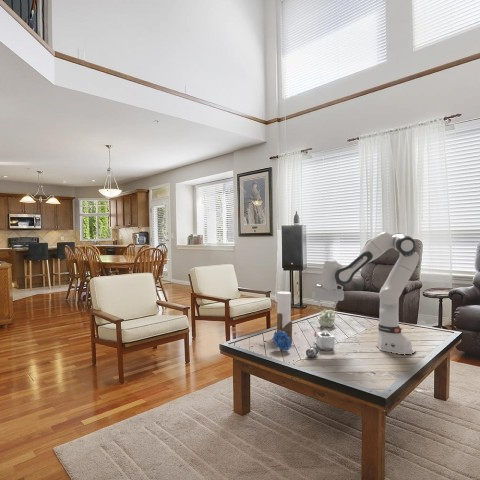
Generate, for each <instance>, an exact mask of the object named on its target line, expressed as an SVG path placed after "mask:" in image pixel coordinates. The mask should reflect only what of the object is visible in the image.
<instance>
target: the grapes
mask: <svg viewBox="0 0 480 480" xmlns="http://www.w3.org/2000/svg"><path fill="white" fill-rule="evenodd" d="M272 340H273V342H274V346H275V347H277V348H279V350H280V351H288V350H289V348H291V347H292V343H290V341H291V339H290V337H287V333H285V332H284V333H283V332H282V331H280V330H279V331H278V333H277V331H276V332H274V333H273V337H272Z"/></svg>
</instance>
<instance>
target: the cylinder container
mask: <svg viewBox="0 0 480 480" xmlns="http://www.w3.org/2000/svg"><path fill="white" fill-rule="evenodd" d="M276 293H277V298H276V299H277V300H276V304H277V305H276V309H277V311H276V314H277V313H282V328H283V327H285V326H286V325H287V324H288V323H289V322H291V321H292V320H291V315H292V312H291V311H292V310H291V309H292V307H291V306H292V301H291V299H292V298H291V295H292V292H291V291H277V292H276ZM282 332H283V331H282ZM283 333H284V332H283Z"/></svg>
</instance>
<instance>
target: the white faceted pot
mask: <svg viewBox="0 0 480 480" xmlns="http://www.w3.org/2000/svg"><path fill="white" fill-rule="evenodd" d="M321 333H322V336H323V337H324V336H329V334H328V333H329V332H321ZM316 348H317V349H318V351H325V352H331V351H334V349H335V347H334V348H328V349H321V348H320V347H319V346H317V345H316Z"/></svg>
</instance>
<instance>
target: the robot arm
mask: <svg viewBox="0 0 480 480" xmlns="http://www.w3.org/2000/svg"><path fill="white" fill-rule="evenodd" d="M390 249H394V250H395V251H396V252H398V253H399V257H398V259H397V261H396V262H395V263H394V265H393V267H392V269H391V270H390V272H389V274H388V277H387V279H386V280H385V281H384V284H383V285H382V286H381V288H380V290H379V293H378V296H379V317H378V318H379V319H378V321H379V323H378V329H377V330H378V337H377V341H376V347H377V348H378V350H379V351H383V352H387V353H391V352H392V353H393V354H396V353H398V354H397V355H400V354H404V355H403V356H406V355H405V354H411V353H414V352H415V351H416V350H417V349H415V348H413V347H412V342H411V340H410V339H409V338H408V337H407V336H406V335H405V334H403V332H402V331H403V327H400V325H399V316H400V315H399V314H400V313H399V309H400V303H399V302H400V301H399V299H400V297H401V295H402V293H403V292H404V289H405V288H406V285H407V283H408V281H409V280H410V279H411V277H412V275H413V273H414V272H415V270H416V268H417V266H418V263H419V260H420V255H419V253H418V252H416V242H415V240H414V239H413V237H411V236H410V235H407V234H405V233H399V232H398V233H395V234H391V233H389V232H387V231H383V232H381V233H378V234H376V235H375V236H373V238H371V239H370V240H369V241H368V242H367V243H365V245H364V246H362V248H361V251H360V253H359V255H358V256H357V258H355V259H354V260H352V262H350V263H349V264H348V265H347V266H344V265H342V264H341V263H339V262H338V261H336V260H327V261H325V262H324V263H323V266H322V279H321V284H315V285H313V286H312V294H311V297H312V299H313V300H315V301H316V302H317V304H318V307H319V308H320V307H321V308H322V303H321V301H334V303H332V308H336V307H337V304H338V303H339V302H340V301H341V302H342V301H344V300H345V291H344V290H343V289H344V285H348V284H350V283H351V282H352V280H353V277H354V276H355V274H356V273H358V272H359V271H360V270H361V269H362V268H364V267H365V266H366V265H368V264H369V263H371V262H373V261H374V260H376V259H378V258H379V257H381V256H382V255H383V254H384V253H385V252H387V251H388V250H390ZM413 350H414V351H413ZM416 352H417V351H416ZM416 352H415V353H416ZM392 353H391V354H392ZM415 353H414V354H415ZM411 355H412V354H411Z"/></svg>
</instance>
